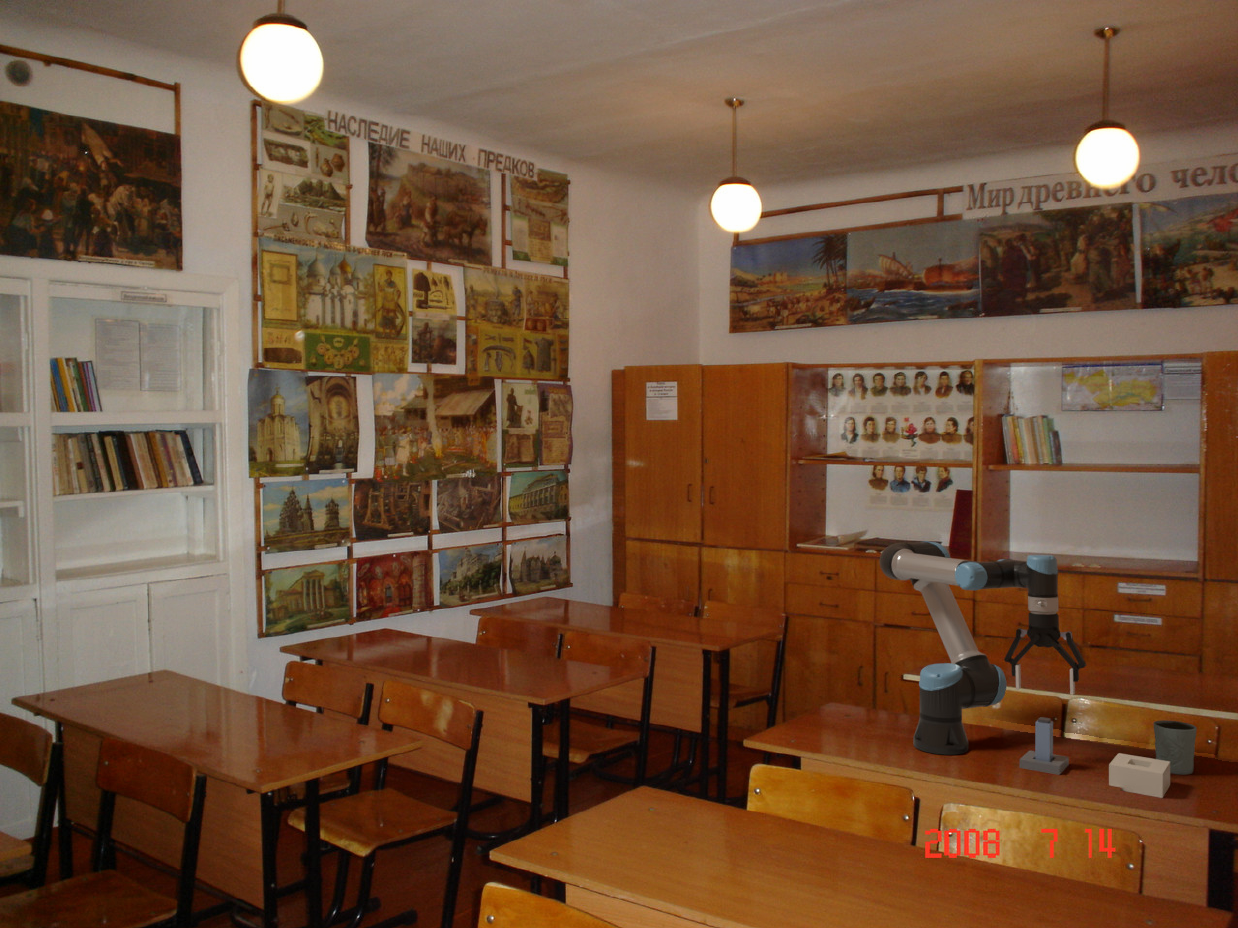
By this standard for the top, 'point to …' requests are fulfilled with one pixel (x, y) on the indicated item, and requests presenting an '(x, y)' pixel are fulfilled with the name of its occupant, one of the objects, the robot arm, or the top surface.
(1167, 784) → the port
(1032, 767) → the grey square socket block
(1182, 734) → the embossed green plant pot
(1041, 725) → the plug
